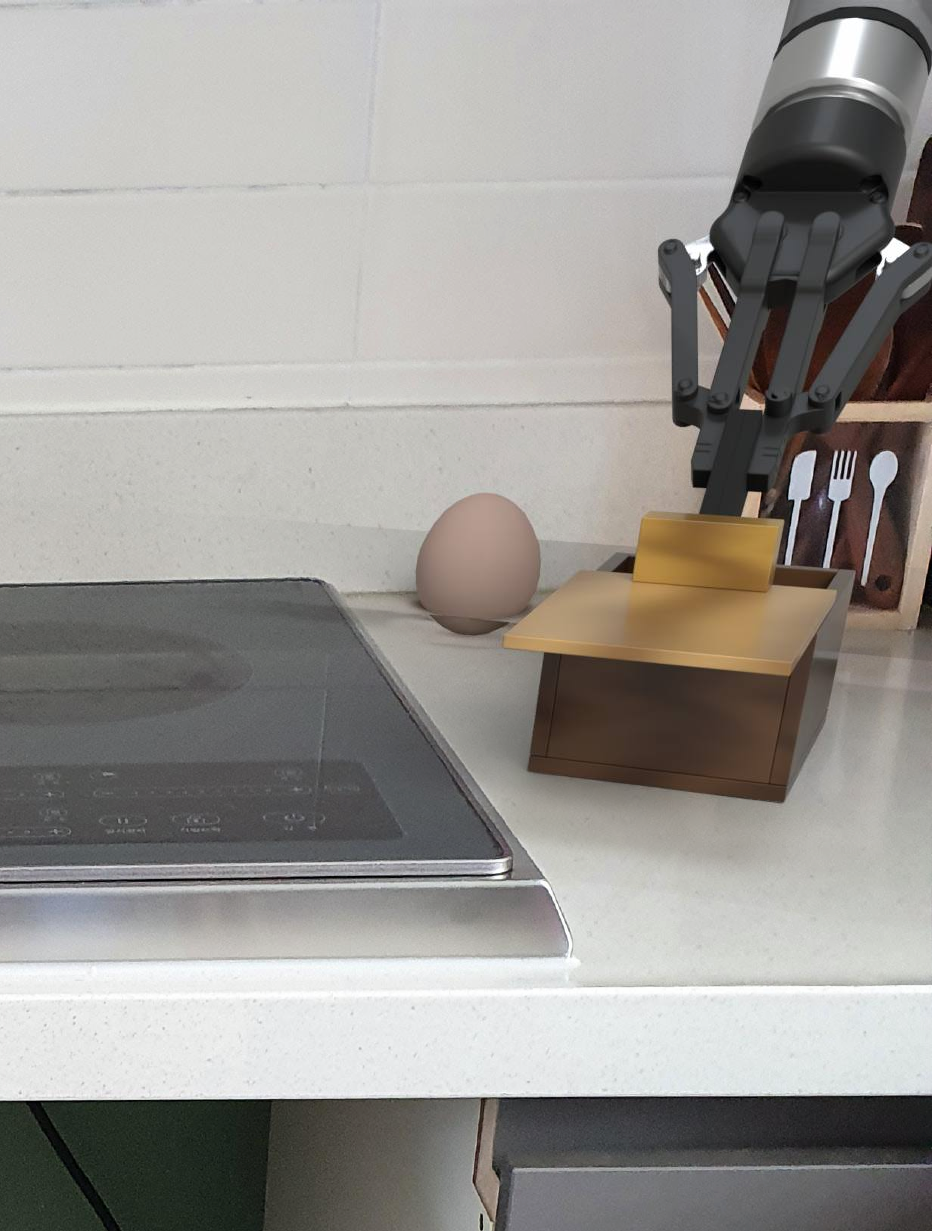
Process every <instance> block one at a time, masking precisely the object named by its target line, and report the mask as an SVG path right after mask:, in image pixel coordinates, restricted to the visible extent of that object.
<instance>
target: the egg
mask: <svg viewBox="0 0 932 1231" xmlns="http://www.w3.org/2000/svg"><path fill="white" fill-rule="evenodd" d="M541 557H542V556H541V547H540V543H539V540H538V538H537V535H536V532H535V530H534V527H533V525H532V523H531V521H530V519H529V518H528V516H527V515H526V512H525V511H524V510H523V509H522V508H521V507H519V505H518V504H516V503H515V502H514V501H512V500H511V499H509V498H507V497H505V496H504V495H501V494H498V493H492V492H478V493H473V494H471V495H468V496H465V497H463V498H461V499H459V500H457V501H456V502H454V503H452V504H451V505H450V506H449V507H448V508H447V509H445V510H444V511H443V512H442V513H441V514H440V516H439V517H438V518H437V519H436V521H434V523H433V525H432V526H431V528H430V529H429V531H428V533H427V534H426V536H425V538H424V540H423V541H422V543H421V546H420V549H419V552H418V555H417V560H416V565H415V587H416V592H417V596H418V598H419V601H420V604H421V605H422V607H423V608H424V609H425V610H426V611H428V612H431V613H434V614H429V616H430V617H431V618H432V620H434V621H435V622H436V623H437V624H438V625H439V626H441V627H442V628H444V629H445V630H447V631H449V632H451V633H453V634H457V635H461V636H471V637H472V636H473V637H476V636H482V635H483V636H484V635H487V634H491V633H493V632H496V631H497V630H500V629H502V628H504V627H506V626H507V625H508V624H509V623H510V621H503V620H492V619H498V618H508V617H514V616H516V615H520V613H522V612H523V611H524V610H525V609H526V607H527V606H528V605H529V604H530V602H531V600H532V599H533V597H534V595H535V593H536V591H537V588H538V585H539V581H540V577H541V565H542V558H541Z"/></svg>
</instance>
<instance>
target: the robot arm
mask: <svg viewBox="0 0 932 1231" xmlns="http://www.w3.org/2000/svg"><path fill="white" fill-rule="evenodd" d="M782 27H783V28H782V32H781V35H780V37H779V38H780V39H779V42H778V46H777V47H776V48H777V49H776V51H775V53H774V56H773V58H772V62H771V65H770V68H769V70H768V73H767V76H766V79H765V83H764V85H763V89H762V92H761V95H760V98H759V102H758V105H757V108H756V111H755V115H754V118H753V121H752V125H751V130H750V136H749V138H748V140H747V142H746V145H745V149H744V152H743V153H744V154H743V156H742V160H741V162H740V166H739V168H738V169H739V170H738V172H737V175H736V179H735V182H734V185H733V189H732V193H731V196H730V199H729V201H728V204H727V207H726V208H725V209H724V211H723V212H722V213H721V214H720V215H719V216H718V217H717V218H716V219H715V220H714V221H713V223H712V224H711V226H710V229H709V233H708V235H706V236H704V237H701V238H699V239H697V240H694V241H691V242H689V243H687V244H685V245H684V242H683V241H682V240H680V239H678V238H669V239H665V240H664V241H662V242H661V243H660V244H659V245H658V248H657V272H658V274H657V275H658V278H657V279H658V287H659V289H660V291H661V293H662V294H663V296H664V298H665V300H666V302H667V304H668V305H669V308H670V314H671V315H670V319H671V320H670V323H671V324H670V326H671V328H670V333H671V337H670V339H671V340H670V342H671V344H670V345H671V346H670V348H671V351H670V352H671V353H670V354H671V420H672V423H673V425H674V426H676V427H679V428H688V427H691V426H693V427H695V428H697V429H699V432H698V435H697V438H696V442H695V445H694V449H693V451H692V452H693V453H692V455H691V459H690V482H691V485H692V488H694V489H705V492H704V495H703V498H702V501H701V505H700V509H699V511H698V514H706V515H721V516H736V517H743V516H742V515H743V512H744V508H745V504H746V501H747V498H748V496H749V495H748V494H749V493H762V494H763V493H764V494H765V493H766V494H768V493H769V492H770V491H771V489H772V488H773V487H774V486H775V484H776V481H777V477H778V473H779V470H780V467H781V463H782V459H783V457H784V452H785V449H786V445H787V443H788V441H789V439H790V438H792V437H793V436H795V435H797V434H799V433H803V432H808V433H810V434H812V435H819V436H820V435H824V434H826V433H828V432H830V431H831V429H832V428H833V427H834V425H835V424H836V422H837V421H838V419H839V417H840V416H841V414H842V412H843V410H844V409H845V407H846V405H847V404H848V402H849V400H850V399H851V397H852V395H853V394H854V393H855V391H856V389H857V387H858V386H859V384H860V383H861V381H862V379H863V378H864V375H865V374H866V372H867V370H868V369H869V367H870V366H871V364H872V362H873V361H874V359H875V357H876V356H877V354H878V353H879V351H880V349H881V348H882V345H883V344H884V342H885V341H886V339H887V338H888V336H889V334H890V332H891V331H892V329H893V328H894V325H895V324H896V323H897V321H898V319H899V318H900V316H901V315H902V314H904V313H905V312H906V311H907V310H908V309H909V308H911V307H913V305H915V303H916V302H918V301H919V300H920V299H921V298H923V297H924V296H926V295H927V293H928V292H929V291H930V289H931V286H932V243H931V242H927V241H920V242H916V243H914V244H913V245H907V244H906V243H904V242H903V241H901V240H899V239H897V238H895V233H896V223H895V221H894V219H893V217H892V215H891V213H892V210H893V207H894V203H895V199H896V196H897V193H898V189H899V185H900V182H901V178H902V175H903V171H904V167H905V163H906V160H907V159H906V158H907V150H908V149H909V147H910V145H911V142H912V139H913V134H914V131H915V127H916V124H917V120H918V116H919V112H920V109H921V104H922V101H923V98H924V94H925V91H926V88H927V83H928V79H929V76H930V74H931V71H932V0H789V4H788V7H787V11H786V16H785V20H784V24H783V26H782ZM712 264H714V265H715V266H716V268H717V269H718V271H719V272H720V274H721V276H722V278H724V281H725V282H726V283H727V285H728V287H729V289H730V290H731V291H732V294H733V295H734V296H735V297H736V302H735V305H734V308H733V311H732V315H731V318H730V321H729V325H728V329H727V331H726V335H725V337H724V342H723V345H722V348H721V352H720V355H719V359H718V361H717V365H716V368H715V372H714V375H713V378H712V382H711V384H710V388H707V387H704V386H702V385H699V333H698V332H699V330H698V328H699V327H698V326H699V324H698V323H699V322H698V320H699V319H698V292H699V291H700V290H701V287H702V285H704V284H705V283H706V281H707V279H708V269H709V267H710V266H711V265H712ZM875 269H876V271H875V280H874V282H873V284H872V285H871V287H870V289H869V290H868V291H867V293H866V295H865V297H864V298H863V300H862V302H861V303H860V305H859V307H858V309H857V310H856V311H855V313H854V315H853V316H852V318H851V320H850V321H849V323H848V324H847V326H846V328H845V330H844V331H843V332H842V334H841V336H840V338H839V339H838V341H837V343H836V345H835V346H834V348H833V349H832V351H831V352H830V354H829V356H828V358H827V360H826V361H825V363H824V364H823V365H822V367H821V369H820V370H819V373H818V374H817V376H816V378H815V379H814V381H813V383H812V384H811V386H810V388H809V389H808V390H807V391H804V392H803V389H804V386H805V382H806V379H807V375H808V371H809V367H810V364H811V361H812V358H813V354H814V350H815V346H816V343H817V339H818V336H819V333H820V332H821V330H822V328H823V323H824V320H825V317H826V312H827V309H828V305H829V304H830V303H832V302H833V301H835V300H837V299H838V298H839V297H841V296H842V295H843V294H845V293H847V291H849V290H850V289H851V288H852V287H853V286H855V285H856V284H857V283H859V282H860V281H861V280H862V279H863V278H865V277H866V276H867V275H869V274H870V273H872V272H873V271H874V270H875ZM780 308H788V309H790V312H789V315H788V318H787V322H786V325H785V328H784V332H783V336H782V339H781V343H780V346H779V350H778V354H777V357H776V360H775V365H774V367H773V371H772V375H771V378H770V382H769V386H768V389H765V393H764V394H765V396H764V409H749V408H748V409H747V408H741V406H742V403H743V400H744V396H745V392H746V389H747V385H748V383H749V378H750V375H751V372H752V369H753V365H754V361H755V358H756V355H757V352H758V349H759V345H760V342H761V338H762V335H763V331H765V330H766V327H767V323H768V320H769V317H770V314H771V310H773V309H780Z"/></svg>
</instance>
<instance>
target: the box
mask: <svg viewBox="0 0 932 1231" xmlns="http://www.w3.org/2000/svg"><path fill="white" fill-rule="evenodd" d="M635 558H636V553H632V552H631V553H630V552H619V551H615V553H613V554H612V555H611V556H610V557H609V558H607V560H605V561H604V562H603V563H602V564H601V565H600V566H598V568H596V569H595V570H594V571H604V572H617V573H629V574H633V570H634V564H635ZM856 574H857V571H856V570H854V569H844V568H843V569H842V568H840V569H838V568H830V567H818V566H817V567H815V566H803V565H793V564H792V565H791V564H790V565H789V564H779V563H776V569H775V574H774V579H773V584H772V585H779V586H791V587H804V588H816V589H829V590H836V591H837V594H836V599H835V602H834V604H833V605H832V607H831V609H830V610H829V612H828V614H827V615H826V617H825V619H824V620H823V622H822V624H821V625H820V627H819V628H818V630H817V632H816V633H815V635H814V637H813V638H812V640H811V642H810V643H809V645H808V646H807V648H806V650H805V651H804V653H803V655H802V656H801V658H800V660H799V661H798V663H797V664H796V666H795V668H794V669H793V671H792V673H791V674H790V676H780V675H770V674H760V673H750V672H740V671H729V670H719V669H709V668H699V667H689V666H679V665H669V664H658V663H648V662H638V661H628V660H618V659H608V658H597V657H587V656H577V655H567V654H557V653H547V652H543V657H542V664H541V670H540V677H539V684H538V691H537V699H536V705H535V713H534V719H533V720H534V721H533V728H532V734H531V741H530V748H529V756H528V763H527V769H526V770H527V771H528V772H531V773H540V774H546V775H547V774H549V775H556V776H563V777H571V778H572V777H573V778H579V779H587V780H588V779H589V780H596V781H597V780H598V781H605V782H612V783H620V784H628V785H629V784H630V785H637V786H644V787H645V786H646V787H652V788H653V787H654V788H661V789H669V790H678V791H685V792H694V793H700V794H701V793H702V794H710V795H718V796H725V797H726V796H727V797H733V798H741V799H749V798H752V799H751V800H757V799H760V800H759V801H765V800H769V801H768V802H773V801H778V802H777V803H781V802H783V803H785V801H786V800H787V797H788V796H789V794H790V792H791V790H792V788H793V786H794V784H795V782H796V780H797V778H798V776H799V774H800V772H801V770H802V768H803V766H804V765H805V762H806V760H807V758H808V757H809V755H810V752H811V750H812V748H813V747H814V745H815V743H816V740H817V739H818V737H819V736H820V733H821V731H822V729H823V727H824V725H825V723H826V721H827V716H828V711H829V709H828V708H829V706H830V700H831V695H832V691H833V685H834V680H835V676H836V671H837V666H838V661H839V656H840V652H841V647H842V641H843V637H844V632H845V626H846V622H847V618H848V612H849V607H850V602H851V597H852V593H853V587H854V582H855V578H856ZM779 801H781V802H779Z"/></svg>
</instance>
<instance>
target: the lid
mask: <svg viewBox="0 0 932 1231" xmlns="http://www.w3.org/2000/svg"><path fill="white" fill-rule="evenodd" d="M784 526H785V519H782V518H781V519H780V518H779V519H778V518H766V517H765V518H763V517H749V516H741V517H736V516H721V515H706V514H699V513H690V512H677V511H675V512H674V511H662V510H659V511H658V510H649V511H648V512H647V513H646V514H645V515H643V516H642V517H641V520H640V527H639V533H638V539H637V545H636V552H635V554H636V558H635V564H634V570H633V574H629V573H617V572H604V571H595V570H589V569H579V570H578V571H577V572H576V573H575V574H573V575H572V576H571V577H570V578H569V579H567V580H566V581H565V582H564V583H563V584H562V585H561V586H559V587H558V588H557V589H556V590H555V591H553V592H552V593H551V594H550V595H549V596H548V597H546V598H545V599H544V600H543V601H542V602H541V603H539V604H538V605H537V606H536V607H534V609H532V611H530V612H529V613H528V614H526V615H525V617H523V618H522V619H521V620H520V621H519V622H517V624H515V625H514V626H513V627H511V629H509V630H508V631H507V632H506V633H504V635H503V637H502V638H503V639H502V645H501V646H502V648H503V649H506V650H518V651H528V652H537V653H538V652H539V653H544V652H547V653H557V654H567V655H577V656H587V657H597V658H608V659H618V660H628V661H638V662H648V663H658V664H669V665H679V666H689V667H699V668H709V669H719V670H729V671H740V672H750V673H760V674H770V675H780V676H790V674H791V673H792V671H793V669H794V668H795V666H796V664H797V663H798V661H799V660H800V658H801V656H802V655H803V653H804V651H805V650H806V648H807V646H808V645H809V643H810V642H811V640H812V638H813V637H814V635H815V633H816V632H817V630H818V628H819V627H820V625H821V624H822V622H823V620H824V619H825V617H826V615H827V614H828V612H829V610H830V609H831V607H832V605H833V604H834V602H835V599H836V594H837V591H836V590H829V589H816V588H804V587H791V586H779V585H772V584H773V579H774V574H775V569H776V564H778V563H777V562H778V558H779V552H780V547H781V541H782V536H783V531H784Z"/></svg>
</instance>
